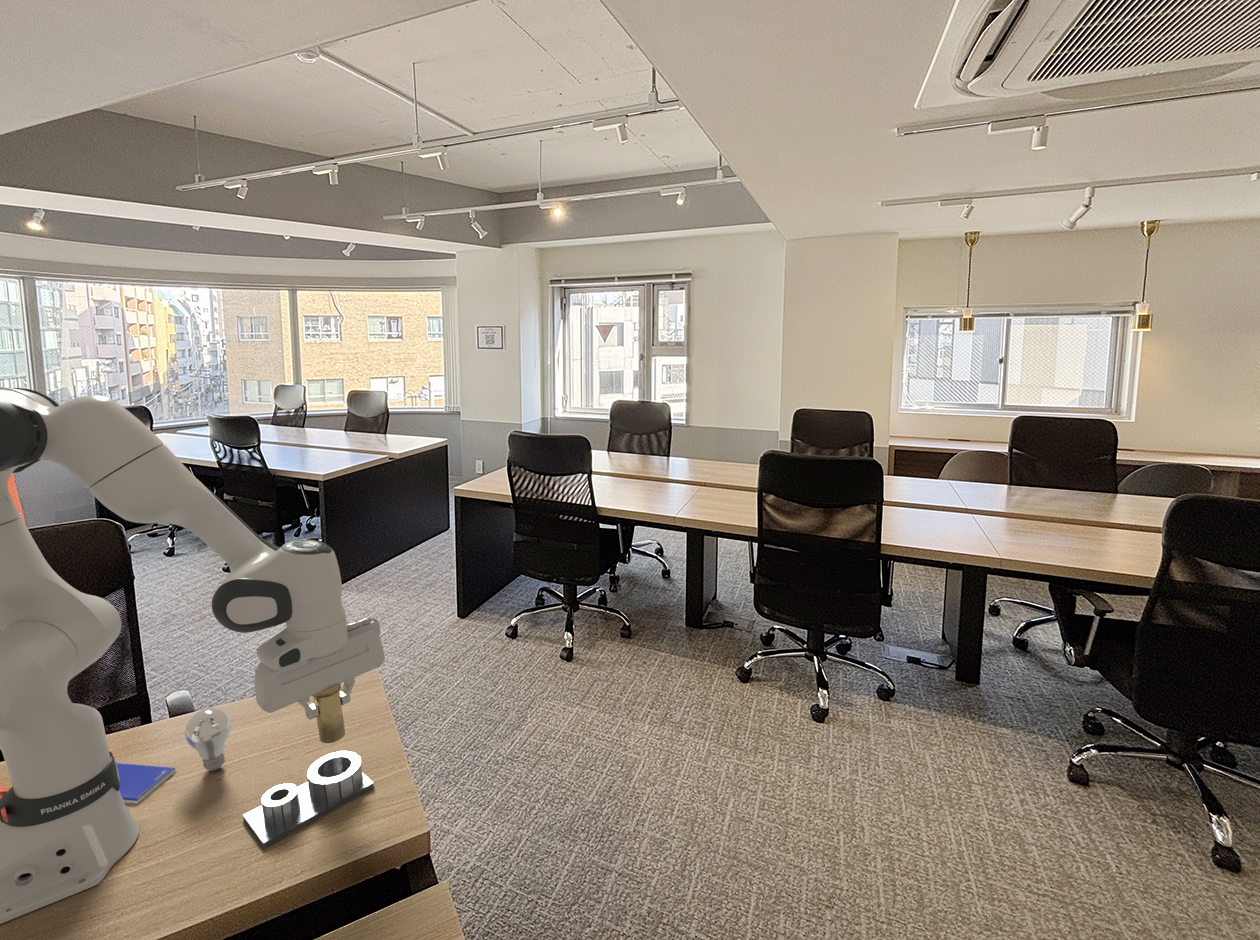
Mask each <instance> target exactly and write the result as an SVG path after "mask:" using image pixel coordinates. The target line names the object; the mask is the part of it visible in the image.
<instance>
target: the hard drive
mask: <svg viewBox="0 0 1260 940" xmlns="http://www.w3.org/2000/svg"><path fill="white" fill-rule="evenodd" d="M116 763H117V767H118V772H119V777H120V782H119V783H120V789H119V790H120V793H121V796H122V798H123V800H124V803H125V804H126V803H129V804H135V805H137V804H139V803H140V802H142V801H143V800H144V799H145V798H146V797H148V796H149V795H150V794H152V793H153V792H154V791H155V790H156V789H157V788H158V787H160V785H162V784H163V783H164V782H166V780H168V779H169V778H170V777H171V776H172V775H174V774H175V773H176V772H177V769H176V767H170V766H156V765H146V764H145V765H144V764H133V763H123V762H121V763H120V762H116Z"/></svg>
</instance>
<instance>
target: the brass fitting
mask: <svg viewBox="0 0 1260 940" xmlns="http://www.w3.org/2000/svg"><path fill="white" fill-rule="evenodd" d="M341 690H342V683H340V684H336V685H334V686H332V687H329V688H327V689H325V690H322V691H320V692H319V693H317V694H314V695H312V696H311V697H313V701H314V703H313V704H315V706H317V707H318V713H319V716H317V717H316V723H317V729H318V736H319V742H321V743H322V744H331V743H332V744H333V743H336V742H338V741H340V740H341V739H343V738H344V737H345V735H346V729H345V721H344V715H343V705H341V698H340V692H341Z"/></svg>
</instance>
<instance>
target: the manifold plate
mask: <svg viewBox="0 0 1260 940" xmlns="http://www.w3.org/2000/svg"><path fill="white" fill-rule="evenodd" d="M306 779H307V781H306V782H304V783H303V784H300V785H299V786H296V784H294V783H288V782H287V783H286V782H285V783H283V784H278V785H275V786H273V787H272V788H270V789H268V790H267V791H266V792H265V793H264V794H263V795H262V797H261V800H260V801H261V802H260V803H261V805H259V806H258V807H257V806H256V807H255V808H253V809H251V810H249V811H247V812H245V813H243V814H242V818H243V822H245V824H246V825H247V826H248V828H249V830H250V832H251V833H252V834H253V835H254V837H255V838H256V840H257V841H258V842H259V843H260V845H261V846H262V848H263V849H266V848H268V847H270V846H272V845H273V844H275V843H277V842H279V841H280V840H282V839H284V838H286V837H288V836H289V835H291V834H293V833H295V832H297V831H298V830H300V829H302V828H304V827H306V826H308V825H309V824H312V823H314V822H315V821H316V820H318V819H320V818H322V817H324V816H325V815H328V814H329V813H331V812H333V811H335V810H336V809H338V808H341V806H344V805H345V804H347V803H349V802H350V801H352V800H354V799H356V798H359V796H361V795H364V794H365V793H367V792H369V791H370V790H372V789H374V788H375V783H374V781H372V780H371V779H370V778H369V776H367V775H366V774H365V773H364V772H363V765H362V758H361V756H360V755H358V754H357V753H356V752H354V751H348V750H339V751H336V752H331V753H328V754H326V755H323V756H321V757H320V758H318V759H316V760H315V761H314V762H313V763H312V764H311V765H310V766H309V768H308V770H307V775H306Z"/></svg>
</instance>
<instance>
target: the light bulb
mask: <svg viewBox="0 0 1260 940" xmlns="http://www.w3.org/2000/svg"><path fill="white" fill-rule="evenodd" d="M231 729H232V722H231V719H230V716H229V715H228V714H227V713H226V712H225V711H224V710H222V709H220V708H215V707H211V708H210V707H209V708H205V709H203V710H200V711H198V712H197V713H195V714H194V715H193V716H192V717H191V718H190V719H189V720H188V722H187V725H186V727H185V731H184V732H185V735H184V736H185V740H186V742H187V744H188V745H189V746H190V747H191V748H193V749H194V750H196V751H197V753H198V755H199V756H200V758H201V759H202V764H203V768H204V769H205V770H207V771H210V772H216V771H218V770H219V769H221V767H222V766H223V765H224V764H225V762H226V757H225V753H224V751H225V747H226V746H225V744H226V741H227V739H228V737H229V735H230V733H231Z"/></svg>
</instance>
